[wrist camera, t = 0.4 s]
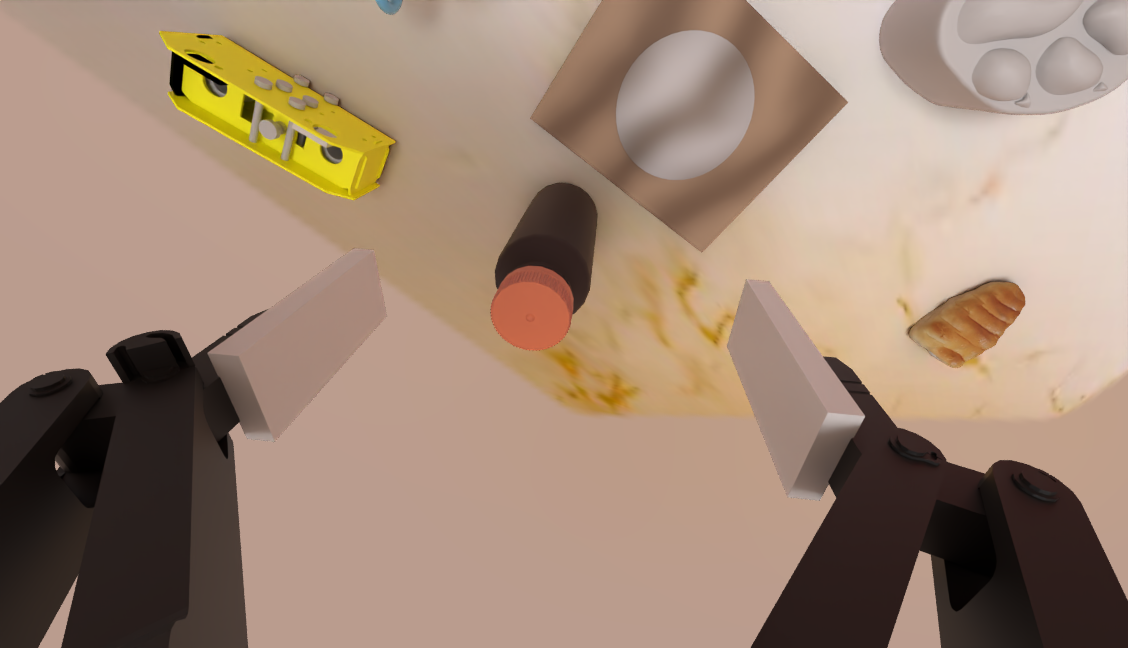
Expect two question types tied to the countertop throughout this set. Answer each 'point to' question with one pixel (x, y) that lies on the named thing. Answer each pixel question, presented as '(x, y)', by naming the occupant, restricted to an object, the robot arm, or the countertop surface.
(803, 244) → the countertop surface
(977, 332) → the pastry
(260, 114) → the yellow toy chassis
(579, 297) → the vinegar
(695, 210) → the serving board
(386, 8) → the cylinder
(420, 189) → the countertop surface
